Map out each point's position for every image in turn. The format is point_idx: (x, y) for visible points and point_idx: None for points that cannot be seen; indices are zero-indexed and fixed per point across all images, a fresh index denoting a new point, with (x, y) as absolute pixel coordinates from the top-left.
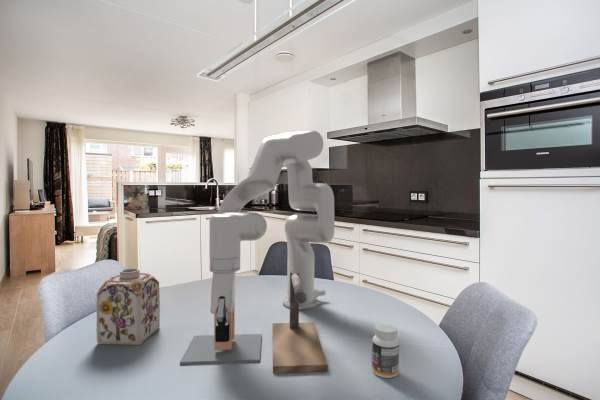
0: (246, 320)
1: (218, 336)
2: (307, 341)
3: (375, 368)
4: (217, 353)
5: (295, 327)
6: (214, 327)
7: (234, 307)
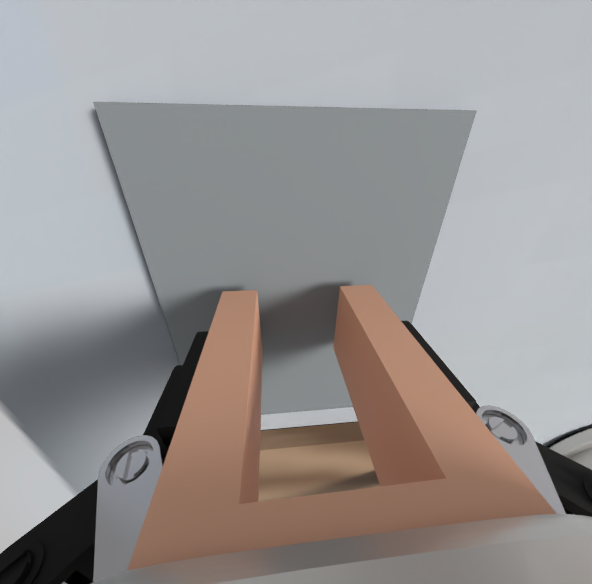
0: (549, 339)
1: (171, 375)
2: (291, 497)
3: None
4: None
5: None
6: (190, 389)
7: None
